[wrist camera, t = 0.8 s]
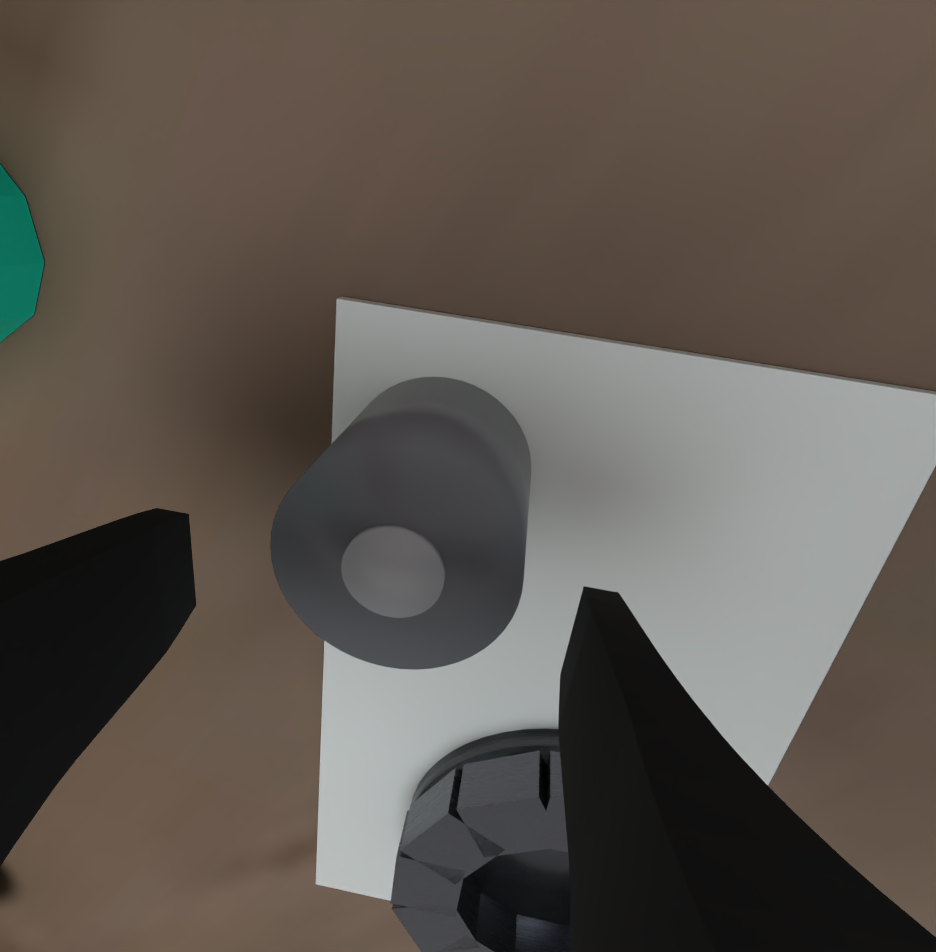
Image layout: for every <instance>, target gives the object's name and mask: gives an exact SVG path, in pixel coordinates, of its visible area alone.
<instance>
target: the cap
mask: <svg viewBox="0 0 936 952" xmlns="http://www.w3.org/2000/svg"><path fill="white" fill-rule="evenodd" d="M530 484H531V457H530V451H529V447H528V444H527V441H526V438H525V435H524V433H523V431H522V429H521V427H520V425H519V424H518V422H517V421H516V419H515V418H514V416H513V415H512V414H511V413H510V412H509V410H508V409H507V408H506V407H505V406H504V405H503V404H502V403H501V402H499V401H498V400H497V399H496V398H495V397H493V396H492V395H490V394H489V393H487V392H486V391H484V390H482V389H480V388H478V387H477V386H475V385H472V384H469V383H467V382H464V381H461V380H457V379H452V378H446V377H421V378H415V379H410V380H407V381H404V382H400V383H398V384H396V385H394V386H392V387H390V388H388V389H386V390H385V391H383V392H382V393H380V394H379V395H378V396H377V397H376V398H374V399H373V400H372V401H371V402H370V403H369V404H368V405H367V406H366V407H365V408H364V410H363V411H362V412H361V413H360V414H359V415H358V416H357V417H356V418H355V419H354V420H353V421H352V422H351V424H350V425H349V426H348V427H347V428H346V429H345V430H344V431H343V432H342V433H341V434H340V435H339V436H338V438H337V439H336V440H335V441H334V442H333V443H332V444H331V445H330V446H329V447H328V448H327V449H326V450H325V452H324V453H323V454H322V455H321V456H320V457H319V458H318V459H317V460H316V461H315V462H314V463H313V464H312V466H311V467H310V468H309V469H308V470H307V471H306V472H305V473H304V474H303V475H302V476H301V477H300V478H299V480H298V481H297V482H296V483H295V484H294V485H293V486H292V488H291V489H290V490H289V491H288V492H287V494H286V495H285V497H284V499H283V500H282V502H281V504H280V505H279V508H278V510H277V513H276V515H275V518H274V522H273V527H272V531H271V544H270V548H271V559H272V564H273V568H274V573H275V576H276V579H277V581H278V584H279V586H280V589H281V591H282V592H283V594H284V596H285V598H286V600H287V602H288V603H289V604H290V606H291V607H292V609H293V610H294V612H295V613H296V614H297V615H298V616H299V618H300V619H301V620H302V621H303V622H304V623H305V624H306V625H307V626H308V627H309V628H310V629H311V630H312V631H313V632H314V633H315V634H317V635H318V636H319V637H321V638H322V639H323V640H325V641H326V642H327V643H329V644H330V645H332V646H334V647H335V648H337V649H339V650H340V651H342V652H344V653H346V654H349V655H351V656H353V657H355V658H357V659H360V660H363V661H366V662H369V663H372V664H376V665H380V666H384V667H390V668H397V669H411V670H418V669H432V668H437V667H443V666H447V665H451V664H454V663H457V662H460V661H462V660H465V659H467V658H469V657H472V656H473V655H475V654H477V653H478V652H480V651H482V650H483V649H485V648H486V647H487V646H489V645H490V644H491V643H492V642H494V641H495V640H496V639H497V638H498V637H499V635H500V634H501V633H502V632H503V631H504V630H505V629H506V627H507V626H508V624H509V623H510V621H511V620H512V618H513V616H514V614H515V612H516V610H517V608H518V605H519V601H520V598H521V595H522V588H523V581H524V568H525V554H526V540H527V526H528V512H529V498H530Z"/></svg>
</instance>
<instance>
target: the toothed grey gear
mask: <svg viewBox="0 0 936 952" xmlns="http://www.w3.org/2000/svg"><path fill="white" fill-rule="evenodd" d="M390 903H392V904H393V907H392V910H393V911H394V913H395V914H396V916H397V917H398V918H399V920H400V921H401V923H402V924H403V926H404V927H405V929H406V930H407V931H408V933H409V934H410V936H411V937H412V939H413V940H414V942H415V943H416V944H417V946H418V947H419V949H420V950H421V952H570V874H569V856H568V844H567V832H566V820H565V808H564V796H563V784H562V772H561V759H560V746H559V732H558V729H547V728H544V729H523V730H516V731H508V732H502V733H498V734H494V735H490V736H486V737H483V738H480V739H477V740H475V741H472V742H470V743H467V744H465V745H463V746H461V747H459V748H457V749H455V750H453V751H452V752H450V753H449V754H447V755H446V756H444V757H443V758H442V759H440V760H439V761H438V762H437V763H436V764H435V765H434V766H433V767H432V768H430V769H429V770H428V771H427V773H426V774H425V775H424V777H423V778H422V780H421V781H420V782H419V784H418V786H417V788H416V791H415V793H414V795H413V798H412V803H411V805H410V809H409V810H407V814H406V818H405V822H404V826H403V831H402V835H401V839H400V843H399V847H398V852H397V856H396V863H395V871H394V879H393V887H392V894H391V902H390Z"/></svg>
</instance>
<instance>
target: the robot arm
mask: <svg viewBox="0 0 936 952" xmlns="http://www.w3.org/2000/svg"><path fill="white" fill-rule="evenodd" d="M195 606H196V597H195V585H194V573H193V560H192V548H191V536H190V524H189V514H186V513H180V512H175V511H169V510H164V509H158V508H156V509H152V510H148V511H144V512H141V513H137V514H134V515H131V516H128V517H125V518H122V519H119V520H116V521H113V522H110V523H108V524H105V525H102V526H99V527H96V528H94V529H91V530H88V531H85V532H82V533H80V534H77V535H74V536H71V537H68V538H66V539H63V540H60V541H57V542H55V543H52V544H49V545H46V546H43V547H41V548H38V549H35V550H32V551H29V552H26V553H24V554H20V555H17V556H14V557H11V558H8V559H5V560H2V561H0V866H1V864H2V863H3V861H4V860H5V858H6V857H7V855H8V854H9V852H10V851H11V849H12V848H13V846H14V845H15V843H16V842H17V840H18V839H19V838H20V836H21V835H22V833H23V832H24V830H25V829H26V827H27V826H28V825H29V823H30V822H31V820H32V819H33V817H34V816H35V815H36V813H37V812H38V810H39V809H40V807H41V806H42V805H43V803H44V802H45V800H46V799H47V797H48V796H49V795H50V793H51V792H52V790H53V789H54V787H55V786H56V785H57V783H58V782H59V781H60V780H61V778H62V777H63V776H64V775H65V773H66V772H67V771H68V769H69V768H70V767H71V766H72V764H73V763H74V762H75V760H76V759H77V758H78V757H79V756H80V754H81V753H82V752H83V751H84V750H85V749H86V747H87V746H88V745H89V744H90V743H91V741H92V740H93V739H94V738H95V737H96V736H97V734H98V733H99V732H100V731H101V730H102V728H103V727H104V726H105V725H106V724H107V723H108V721H109V720H110V719H111V718H112V717H113V715H114V714H115V713H116V712H117V711H118V710H119V708H120V707H121V706H122V705H123V704H124V703H125V701H126V700H127V699H128V698H129V697H130V695H131V694H132V693H133V692H134V691H135V690H136V688H137V687H138V686H139V685H140V684H141V682H142V681H143V680H144V679H145V677H146V676H147V675H148V674H149V673H150V671H151V670H152V669H153V668H154V667H155V665H156V664H157V663H158V662H159V661H160V659H161V658H162V657H163V656H164V654H165V653H166V652H167V650H168V649H169V647H170V646H171V644H172V643H173V641H174V640H175V638H176V637H177V635H178V634H179V632H180V631H181V629H182V627H183V626H184V624H185V622H186V621H187V619H188V618H189V616H190V614H191V613H192V611H193V609H194V608H195ZM558 732H559V746H560V759H561V772H562V784H563V796H564V808H565V820H566V832H567V844H568V856H569V874H570V952H936V937H935V936H933V935H932V934H931V933H930V932H929V931H927V930H926V929H925V928H924V927H923V926H921V925H920V924H919V923H918V922H917V921H915V920H914V919H913V918H912V917H911V916H909V915H908V914H907V913H906V912H905V911H903V910H902V909H901V908H900V907H899V906H897V905H896V904H895V903H894V902H893V901H891V900H890V899H889V898H888V897H887V896H885V895H884V894H883V893H882V892H881V891H879V890H878V889H877V888H876V887H875V886H874V885H873V884H872V883H870V882H869V881H868V880H867V879H866V878H865V877H864V876H862V875H861V874H860V873H859V872H858V871H857V870H856V869H854V868H853V867H852V866H851V865H850V864H849V863H848V862H847V861H845V860H844V859H843V858H842V857H841V856H840V855H839V854H838V853H837V852H836V851H835V850H833V849H832V848H831V847H830V846H829V845H828V844H827V843H826V842H825V841H824V840H823V839H822V838H821V837H820V836H819V835H818V834H816V833H815V832H814V831H813V830H812V829H811V828H810V827H809V826H808V825H807V824H806V823H805V822H804V821H803V820H802V819H801V818H799V817H798V816H797V815H796V814H795V813H794V812H793V811H792V810H791V809H790V808H789V807H788V806H787V805H786V804H785V803H784V802H783V801H782V800H781V799H780V798H779V797H778V796H777V795H776V794H775V793H774V792H773V791H772V790H771V789H770V788H769V786H768V785H767V784H766V783H765V782H764V781H763V780H762V779H761V778H760V777H759V776H758V775H757V774H756V773H755V771H754V770H753V769H752V768H751V767H750V766H749V765H748V764H747V763H746V762H745V761H744V760H743V759H742V758H741V756H740V755H739V754H738V753H737V752H736V751H735V750H734V749H733V748H732V746H731V745H730V744H729V743H728V742H727V741H726V740H725V738H724V737H723V736H722V735H721V734H720V733H719V731H718V730H717V729H716V728H715V726H714V725H713V724H712V723H711V722H710V720H709V719H708V718H707V717H706V715H705V714H704V713H703V712H702V710H701V709H700V708H699V707H698V706H697V704H696V703H695V702H694V701H693V699H692V698H691V697H690V695H689V694H688V693H687V691H686V690H685V689H684V687H683V686H682V685H681V683H680V682H679V681H678V679H677V678H676V676H675V675H674V674H673V672H672V671H671V670H670V668H669V667H668V665H667V664H666V663H665V661H664V660H663V658H662V657H661V655H660V654H659V653H658V651H657V650H656V648H655V647H654V645H653V644H652V642H651V641H650V639H649V638H648V636H647V635H646V633H645V632H644V630H643V629H642V627H641V626H640V624H639V623H638V621H637V619H636V618H635V616H634V615H633V613H632V612H631V610H630V609H629V607H628V606H627V604H626V603H625V601H624V600H623V598H622V597H621V595H620V594H619V593H618V592H613V591H607V590H602V589H597V588H591V587H586V586H584V587H583V591H582V595H581V598H580V602H579V606H578V610H577V613H576V617H575V621H574V625H573V628H572V632H571V636H570V640H569V643H568V647H567V651H566V655H565V658H564V662H563V666H562V670H561V673H560V691H559V720H558Z"/></svg>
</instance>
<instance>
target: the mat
mask: <svg viewBox="0 0 936 952" xmlns="http://www.w3.org/2000/svg"><path fill="white" fill-rule="evenodd" d="M421 377H446V378H452V379H457V380H461V381H464V382H467V383H469V384H472V385H475V386H477V387H478V388H480V389H482V390H484V391H486V392H487V393H489V394H490V395H492V396H493V397H495V398H496V399H497V400H498V401H499V402H501V403H502V404H503V405H504V406H505V407H506V408H507V409H508V410H509V412H510V413H511V414H512V415H513V416H514V418H515V419H516V421H517V422H518V424H519V425H520V427H521V429H522V431H523V433H524V435H525V438H526V441H527V444H528V447H529V451H530V457H531V484H530V498H529V512H528V526H527V540H526V554H525V568H524V581H523V588H522V595H521V598H520V601H519V605H518V608H517V610H516V612H515V614H514V616H513V618H512V620H511V621H510V623H509V624H508V626H507V627H506V629H505V630H504V631H503V632H502V633H501V634H500V635H499V637H498V638H497V639H496V640H495V641H494V642H492V643H491V644H490V645H489V646H487V647H486V648H485V649H483V650H482V651H480V652H478V653H477V654H475V655H473V656H472V657H469V658H467V659H465V660H462V661H460V662H457V663H454V664H451V665H447V666H443V667H437V668H432V669H418V670H411V669H397V668H390V667H384V666H380V665H376V664H372V663H369V662H366V661H363V660H360V659H357V658H355V657H353V656H351V655H349V654H346V653H344V652H342V651H340V650H339V649H337V648H335V647H334V646H332V645H330V644H329V643H327V642H326V641H324V669H323V697H322V725H321V753H320V781H319V809H318V837H317V865H316V884H317V885H322V886H326V887H331V888H336V889H340V890H345V891H349V892H354V893H358V894H363V895H367V896H372V897H376V898H381V899H385V900H390V901H391V894H392V887H393V879H394V871H395V863H396V856H397V852H398V847H399V843H400V839H401V835H402V831H403V826H404V822H405V818H406V814H407V810H409V809H410V805H411V803H412V798H413V795H414V793H415V791H416V788H417V786H418V784H419V782H420V781H421V780H422V778H423V777H424V775H425V774H426V773H427V771H428V770H429V769H430V768H432V767H433V766H434V765H435V764H436V763H437V762H438V761H439V760H440V759H442V758H443V757H444V756H446V755H447V754H449V753H450V752H452V751H453V750H455V749H457V748H459V747H461V746H463V745H465V744H467V743H470V742H472V741H475V740H477V739H480V738H483V737H486V736H490V735H494V734H498V733H502V732H508V731H516V730H523V729H544V728H547V729H558V720H559V691H560V673H561V670H562V666H563V662H564V658H565V655H566V651H567V647H568V643H569V640H570V636H571V632H572V628H573V625H574V621H575V617H576V613H577V610H578V606H579V602H580V598H581V595H582V591H583V587H584V586H586V587H591V588H597V589H602V590H607V591H613V592H618V593H619V594H620V595H621V597H622V598H623V600H624V601H625V603H626V604H627V606H628V607H629V609H630V610H631V612H632V613H633V615H634V616H635V618H636V619H637V621H638V623H639V624H640V626H641V627H642V629H643V630H644V632H645V633H646V635H647V636H648V638H649V639H650V641H651V642H652V644H653V645H654V647H655V648H656V650H657V651H658V653H659V654H660V655H661V657H662V658H663V660H664V661H665V663H666V664H667V665H668V667H669V668H670V670H671V671H672V672H673V674H674V675H675V676H676V678H677V679H678V681H679V682H680V683H681V685H682V686H683V687H684V689H685V690H686V691H687V693H688V694H689V695H690V697H691V698H692V699H693V701H694V702H695V703H696V704H697V706H698V707H699V708H700V709H701V710H702V712H703V713H704V714H705V715H706V717H707V718H708V719H709V720H710V722H711V723H712V724H713V725H714V726H715V728H716V729H717V730H718V731H719V733H720V734H721V735H722V736H723V737H724V738H725V740H726V741H727V742H728V743H729V744H730V745H731V746H732V748H733V749H734V750H735V751H736V752H737V753H738V754H739V755H740V756H741V758H742V759H743V760H744V761H745V762H746V763H747V764H748V765H749V766H750V767H751V768H752V769H753V770H754V771H755V773H756V774H757V775H758V776H759V777H760V778H761V779H762V780H763V781H764V782H765V783H766V784H767V785H768V784H769V783H770V781H771V779H772V777H773V775H774V773H775V771H776V769H777V767H778V765H779V763H780V762H781V760H782V758H783V756H784V754H785V752H786V750H787V748H788V746H789V744H790V742H791V741H792V739H793V737H794V735H795V733H796V731H797V729H798V727H799V725H800V723H801V721H802V720H803V718H804V716H805V714H806V712H807V710H808V708H809V706H810V704H811V702H812V700H813V699H814V697H815V695H816V693H817V691H818V689H819V687H820V685H821V683H822V681H823V680H824V678H825V676H826V674H827V672H828V670H829V668H830V666H831V664H832V662H833V660H834V659H835V657H836V655H837V653H838V651H839V649H840V647H841V645H842V643H843V641H844V639H845V638H846V636H847V634H848V632H849V630H850V628H851V626H852V624H853V622H854V620H855V618H856V617H857V615H858V613H859V611H860V609H861V607H862V605H863V603H864V601H865V599H866V597H867V596H868V594H869V592H870V590H871V588H872V586H873V584H874V582H875V580H876V578H877V576H878V575H879V573H880V571H881V569H882V567H883V565H884V563H885V561H886V559H887V557H888V555H889V554H890V552H891V550H892V548H893V546H894V544H895V542H896V540H897V538H898V536H899V534H900V533H901V531H902V529H903V527H904V525H905V523H906V521H907V519H908V517H909V515H910V513H911V512H912V510H913V508H914V506H915V504H916V502H917V500H918V498H919V496H920V494H921V492H922V491H923V489H924V487H925V485H926V483H927V481H928V479H929V477H930V475H931V473H932V472H933V470H934V468H935V466H936V391H930V390H923V389H917V388H911V387H905V386H898V385H892V384H886V383H880V382H873V381H867V380H861V379H855V378H848V377H842V376H836V375H830V374H823V373H817V372H811V371H805V370H798V369H792V368H786V367H780V366H773V365H767V364H761V363H755V362H748V361H742V360H736V359H730V358H723V357H717V356H711V355H705V354H698V353H692V352H686V351H680V350H673V349H667V348H661V347H655V346H648V345H642V344H636V343H630V342H623V341H617V340H611V339H605V338H598V337H592V336H586V335H580V334H573V333H567V332H561V331H555V330H548V329H542V328H536V327H530V326H523V325H517V324H511V323H505V322H498V321H492V320H486V319H480V318H473V317H467V316H461V315H455V314H448V313H442V312H436V311H430V310H423V309H417V308H411V307H405V306H398V305H392V304H386V303H380V302H373V301H367V300H361V299H355V298H348V297H339V298H337V304H336V332H335V360H334V388H333V416H332V443H333V442H334V441H335V440H336V439H337V438H338V436H339V435H340V434H341V433H342V432H343V431H344V430H345V429H346V428H347V427H348V426H349V425H350V424H351V422H352V421H353V420H354V419H355V418H356V417H357V416H358V415H359V414H360V413H361V412H362V411H363V410H364V408H365V407H366V406H367V405H368V404H369V403H370V402H371V401H372V400H373V399H374V398H376V397H377V396H378V395H379V394H380V393H382V392H383V391H385V390H386V389H388V388H390V387H392V386H394V385H396V384H398V383H400V382H404V381H407V380H410V379H415V378H421Z"/></svg>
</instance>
